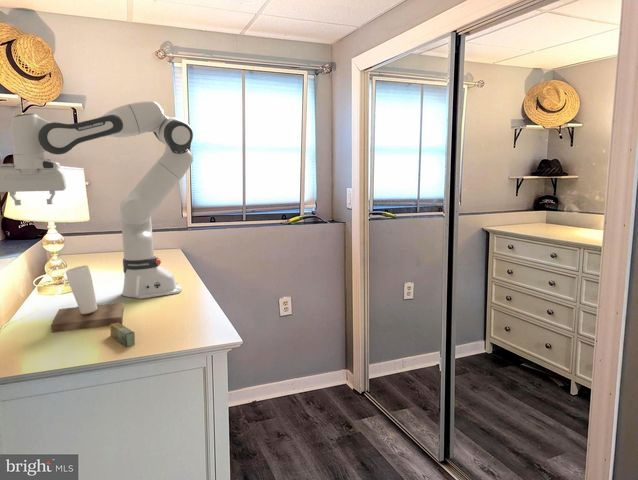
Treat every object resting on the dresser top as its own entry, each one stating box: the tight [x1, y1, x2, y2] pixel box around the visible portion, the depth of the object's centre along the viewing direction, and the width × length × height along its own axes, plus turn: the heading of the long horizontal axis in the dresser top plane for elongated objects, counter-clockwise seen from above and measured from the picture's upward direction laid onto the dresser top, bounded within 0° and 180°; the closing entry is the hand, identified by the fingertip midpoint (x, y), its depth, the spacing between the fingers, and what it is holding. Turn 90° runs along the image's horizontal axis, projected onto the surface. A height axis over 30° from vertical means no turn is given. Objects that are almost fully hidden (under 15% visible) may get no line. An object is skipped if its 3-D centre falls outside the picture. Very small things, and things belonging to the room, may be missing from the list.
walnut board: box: [50, 302, 125, 333], centre depth 154 cm, size 20×16×2 cm
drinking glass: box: [65, 264, 98, 314], centre depth 152 cm, size 7×7×15 cm
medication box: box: [109, 323, 136, 348], centre depth 137 cm, size 12×3×4 cm, turn 45°
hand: (34, 204), depth 158 cm, fingers open, 8 cm apart
